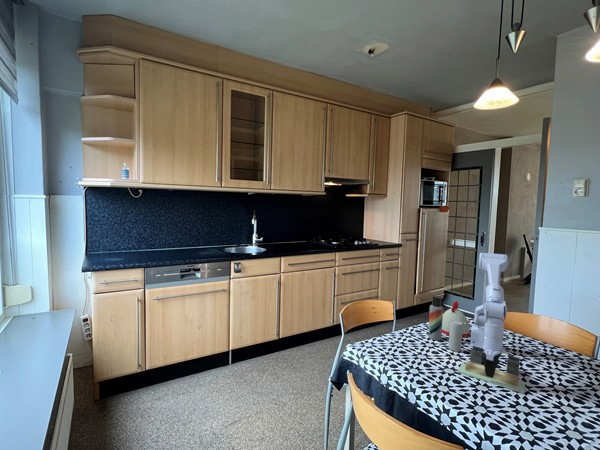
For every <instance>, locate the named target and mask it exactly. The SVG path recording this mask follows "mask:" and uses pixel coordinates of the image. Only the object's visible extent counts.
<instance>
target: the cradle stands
mask: <svg viewBox="0 0 600 450" xmlns="http://www.w3.org/2000/svg"><path fill="white" fill-rule="evenodd" d="M482 354H483V355H484V350H483V348H480V347H476V346H473V347H472V349H470V358H469V361H470V362H473V363H476V364H480V365H482V363H483V361H482V359H481V355H482ZM520 362H521V358H520V357H517V356H514V355H510V354H508V357H507V360H506V372H507V373H510V374H514V375H517V376H519V375H520Z"/></svg>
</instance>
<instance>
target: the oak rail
mask: <svg viewBox="0 0 600 450" xmlns="http://www.w3.org/2000/svg"><path fill="white" fill-rule="evenodd" d="M465 364H466V366H465V370H466V371H469V372H472V373H475V374H479V375H482V376H485V377H488V376H486V373H485V367H484V364H481V365H480V364H476V363H473V362H470V360H467V361H466V362H465ZM519 377H520V376H519V375H518V376H517V375H514V374H510V373H507V371H503V370H500V369H496V370H495V373H494V377H493V378H491V377H488V378H491V379H495V380H498V381H501V382H504V383H507V384H511V385H514V386H517V387H518V380H520V379H519Z"/></svg>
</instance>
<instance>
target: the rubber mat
mask: <svg viewBox="0 0 600 450" xmlns="http://www.w3.org/2000/svg"><path fill="white" fill-rule="evenodd" d="M465 366H466V363H464V362H462V363H461V365H460V366H459V367H458V370H457V373H458V374H462V375H463V376H464V375H465V376H468V377H470V378H473V379H474V378H475V379H476V380H477V379H478V380H479V381H483V382H487V383H490V384H493V385H496V386H500V387H501V388H505V389H508V390H511V391H515V392H518V393H519V394H520V393H521V394H525V392H526V391H525V390H526V381H523V380H520V379H518V387H517V386H514V385H511V384H507V383H504V382H501V381H498V380H495V379H491V378H488V377H485V376H482V375H479V374H475V373H472V372H469V371H466V370H465Z"/></svg>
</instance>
